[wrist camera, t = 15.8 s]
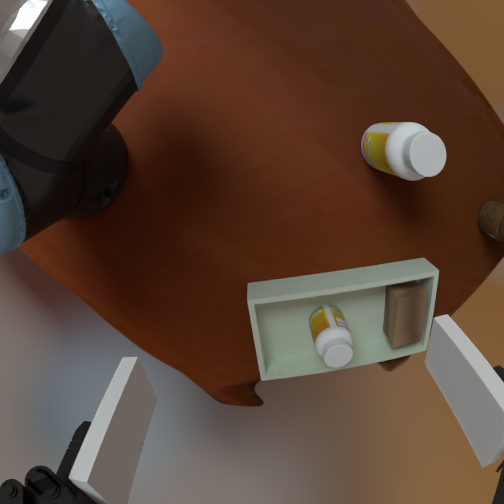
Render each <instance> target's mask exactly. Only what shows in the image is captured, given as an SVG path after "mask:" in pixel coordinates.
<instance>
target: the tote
mask: <svg viewBox="0 0 504 504" xmlns="http://www.w3.org/2000/svg"><path fill="white" fill-rule="evenodd" d="M438 275H439V270H438V269H437V268H436V267H434V266H433V265H432V264H431V263H430V262H429V261H427V260H426V259H425V258H418V259H412V260H406V261H400V262H393V263H387V264H381V265H374V266H368V267H361V268H354V269H348V270H341V271H334V272H327V273H320V274H313V275H306V276H298V277H291V278H283V279H276V280H268V281H260V282H252V283H248V290H247V302H248V308H249V314H250V319H251V325H252V331H253V336H254V342H255V348H256V353H257V359H258V365H259V370H260V376H261V381H263V380H272V379H282V378H289V377H297V376H304V375H310V374H317V373H324V372H330V371H336V370H341V369H347V368H352V367H357V366H362V365H367V364H372V363H377V362H381V361H386V360H390V359H394V358H399V357H403V356H407V355H411V354H415V353H419V352H422V351H426V349H427V344H428V339H429V334H430V329H431V323H432V317H433V311H434V305H435V298H436V291H437V283H438ZM412 280H416V281H417V282H418V283H419V284H420V285H421V286H422V287H423V288H424V289H425V290H426V292H427V293H428V294H427V302H426V309H425V316H424V322H423V328H422V334H421V340H420V342H416V343H411V344H407V345H403V346H399V347H394V348H392V346H391V344H390V342H389V340H388V339H387V337H386V335H385V333H384V332H383V321H384V308H385V293H386V285H390V284H396V283H401V282H407V281H412ZM323 304H333V305H335V306H337V307H338V308H339V309H340V311H341V312H342V314H343V317H344V319H345V321H346V323H347V326H348V328H349V330H350V332H351V335H352V338H353V344H352V347H351V348H352V351H353V356H352V359H351V360H350V361H349V362H348V363H347V364H346V365H344V366H341V367H336V368H334V367H330V366H328V365H327V364H326V363H325V362H324V359H323V357H321V356H320V355H319V354H318V353H317V351H316V348H315V345H314V341H313V337H312V334H311V330H310V327H309V316H310V313H311V312H312V311H313V310H314V309H315V308H316V307H318V306H320V305H323Z"/></svg>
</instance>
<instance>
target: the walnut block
mask: <svg viewBox="0 0 504 504" xmlns="http://www.w3.org/2000/svg"><path fill="white" fill-rule="evenodd" d="M427 294H428V293H427V292H426V290H425V289H424V288H423V287H422V286H421V285H420V284H419V283H418V282H417V281H416V280H412V281H407V282H401V283H396V284H390V285H386V293H385V308H384V321H383V332H384V333H385V335H386V337H387V339H388V340H389V342H390V344H391V346H392V348H394V347H399V346H403V345H407V344H411V343H416V342H420V340H421V334H422V328H423V322H424V316H425V309H426V302H427Z"/></svg>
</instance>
